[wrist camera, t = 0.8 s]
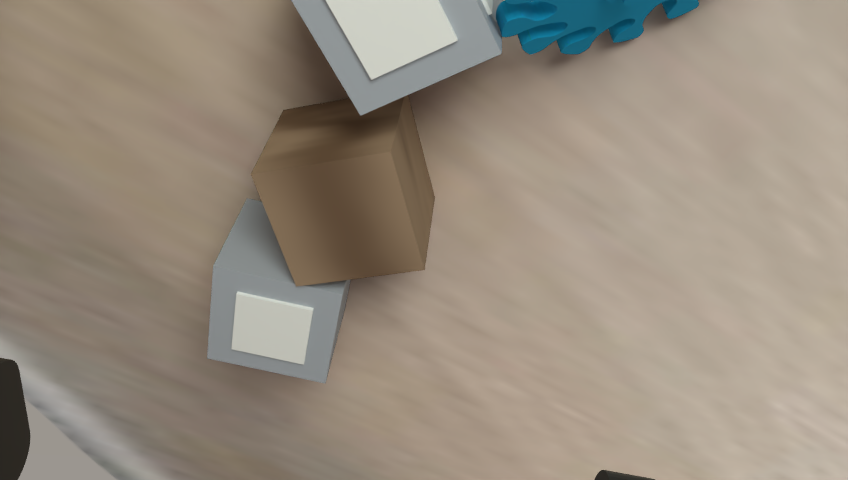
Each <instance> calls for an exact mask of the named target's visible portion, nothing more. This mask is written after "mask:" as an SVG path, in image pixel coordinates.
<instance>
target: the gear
mask: <svg viewBox="0 0 848 480" xmlns="http://www.w3.org/2000/svg"><path fill="white" fill-rule="evenodd" d="M532 1H533V2H532ZM660 3H662V5H663V8H664V10H665V13H666V15H667V17H668V18H669V19H672V18H675V17H678V16H680V15H683V14H685V13H687V12H689V11H691V10H693V9H695V8H697V7H698V5H699V2H698V0H505V1H503V2H501V3H500V4H499V5H498V7H497V10H496V20H497V23H498V26H499V29H500V32H501V35H502V37H510V36H514V35H517V34H518V37H519V40H520V43H521V46H522V49H523V50H524V51H525V52H526V53H528V54H534V53H537V52H539V51H541V50H543V49H544V48H546V47H547V46H548V45H549V44H551V43H552V42H554V41H555V40H557V43H558V46H559V48H560V51H561V53H564V54H580V53H582V52H584V51H585V50H587V49H588V48H589V47H590V45H591V43H592V42H593V41H594V39H595V38H596V37H597V36H598V35H600V34H601V33H602V32H603V31H605V30H606V29H609V32H610V34H611V37H612V40H613V42H614V43H616V42H622V41H627V40H630V39H634V38H637V37H639V36H640V35H641V34H642V33H643V31H644V29H643V26H642V24H643V21H644V19H645V17H646V16H647V15H648V14H649V13H650V12H651V11H652V10H653V9H654V8H655V7H656V6H657V5H659V4H660Z"/></svg>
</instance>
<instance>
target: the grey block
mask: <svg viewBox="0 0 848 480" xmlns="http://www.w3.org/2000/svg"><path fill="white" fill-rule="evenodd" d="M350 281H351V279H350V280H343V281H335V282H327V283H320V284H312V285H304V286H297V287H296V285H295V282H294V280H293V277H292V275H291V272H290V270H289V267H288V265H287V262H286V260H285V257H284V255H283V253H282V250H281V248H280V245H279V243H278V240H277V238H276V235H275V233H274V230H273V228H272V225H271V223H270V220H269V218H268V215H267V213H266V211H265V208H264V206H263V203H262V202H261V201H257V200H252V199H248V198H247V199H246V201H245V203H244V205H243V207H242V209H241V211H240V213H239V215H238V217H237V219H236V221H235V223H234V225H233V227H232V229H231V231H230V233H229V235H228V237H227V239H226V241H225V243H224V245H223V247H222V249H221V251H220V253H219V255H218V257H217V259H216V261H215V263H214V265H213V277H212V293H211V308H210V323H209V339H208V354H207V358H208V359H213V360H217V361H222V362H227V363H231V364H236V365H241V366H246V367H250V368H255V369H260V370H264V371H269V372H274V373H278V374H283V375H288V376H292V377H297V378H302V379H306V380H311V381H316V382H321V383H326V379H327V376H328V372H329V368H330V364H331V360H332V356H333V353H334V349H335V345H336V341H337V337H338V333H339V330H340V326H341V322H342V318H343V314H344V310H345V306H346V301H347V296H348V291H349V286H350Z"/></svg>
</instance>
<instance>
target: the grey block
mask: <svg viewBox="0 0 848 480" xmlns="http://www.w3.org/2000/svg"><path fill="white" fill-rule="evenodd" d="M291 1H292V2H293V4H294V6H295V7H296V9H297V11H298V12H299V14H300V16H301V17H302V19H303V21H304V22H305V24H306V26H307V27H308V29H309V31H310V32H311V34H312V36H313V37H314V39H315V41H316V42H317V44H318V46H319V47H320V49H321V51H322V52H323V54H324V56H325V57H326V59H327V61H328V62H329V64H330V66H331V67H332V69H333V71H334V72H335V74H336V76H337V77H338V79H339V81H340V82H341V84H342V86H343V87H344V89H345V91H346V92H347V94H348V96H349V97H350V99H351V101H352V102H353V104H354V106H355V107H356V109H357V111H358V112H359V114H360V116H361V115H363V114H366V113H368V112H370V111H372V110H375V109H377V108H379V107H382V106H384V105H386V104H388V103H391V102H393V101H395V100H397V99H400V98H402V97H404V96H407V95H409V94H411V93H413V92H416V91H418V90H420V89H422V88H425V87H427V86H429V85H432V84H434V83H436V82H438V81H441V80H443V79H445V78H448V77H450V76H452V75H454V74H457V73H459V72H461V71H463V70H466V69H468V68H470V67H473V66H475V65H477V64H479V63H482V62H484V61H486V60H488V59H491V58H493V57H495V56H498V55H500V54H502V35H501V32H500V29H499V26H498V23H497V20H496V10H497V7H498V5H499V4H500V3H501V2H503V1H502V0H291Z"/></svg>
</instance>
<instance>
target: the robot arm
mask: <svg viewBox="0 0 848 480" xmlns="http://www.w3.org/2000/svg"><path fill="white" fill-rule="evenodd" d="M29 446H30V429H29V423H28V417H27V412H26V407H25V400H24V395H23V389H22V383H21V378H20V372H19V368H18V365H17V363H16V362H15V361H13V360H10V359H4V358H0V480H18V478H19V476H20V474H21V472H22V470H23V467H24V465H25V462H26V459H27V455H28V451H29ZM595 480H655V479H651V478H645V477H640V476H634V475H629V474H623V473H618V472H612V471H607V470H601V471H600V472H599V473H598V474H597V476H596V478H595Z"/></svg>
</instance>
